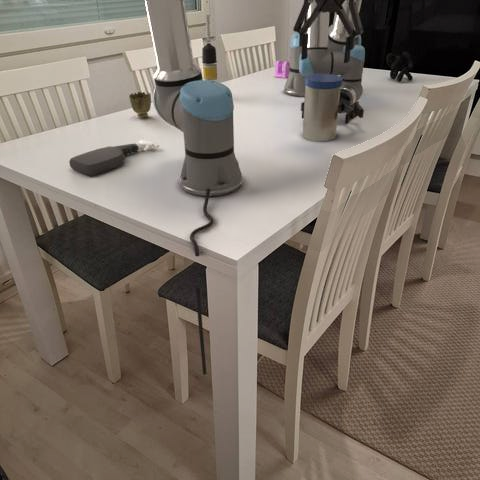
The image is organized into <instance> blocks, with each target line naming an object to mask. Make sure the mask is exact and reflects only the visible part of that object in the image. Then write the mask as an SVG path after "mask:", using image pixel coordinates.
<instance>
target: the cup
mask: <svg viewBox="0 0 480 480" xmlns="http://www.w3.org/2000/svg"><path fill="white" fill-rule="evenodd" d="M128 98H129V101H130V105H131V108H132V110H133V112H134V113H136V115H137V117H138V118H139V119H145V118H147V117H148V115H149V112H150V111H151V105H152V93H150V92H149V91H148V92H147V94H146V92H145V91H143V92H141V91H138V92H137V93H136V92H134V93H129V95H128Z"/></svg>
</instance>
